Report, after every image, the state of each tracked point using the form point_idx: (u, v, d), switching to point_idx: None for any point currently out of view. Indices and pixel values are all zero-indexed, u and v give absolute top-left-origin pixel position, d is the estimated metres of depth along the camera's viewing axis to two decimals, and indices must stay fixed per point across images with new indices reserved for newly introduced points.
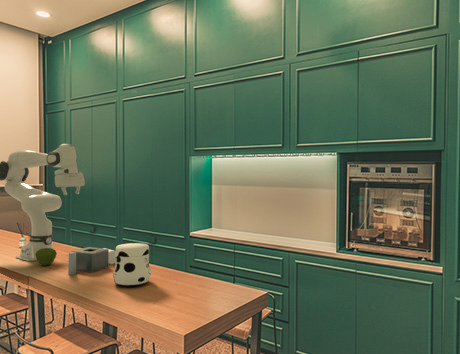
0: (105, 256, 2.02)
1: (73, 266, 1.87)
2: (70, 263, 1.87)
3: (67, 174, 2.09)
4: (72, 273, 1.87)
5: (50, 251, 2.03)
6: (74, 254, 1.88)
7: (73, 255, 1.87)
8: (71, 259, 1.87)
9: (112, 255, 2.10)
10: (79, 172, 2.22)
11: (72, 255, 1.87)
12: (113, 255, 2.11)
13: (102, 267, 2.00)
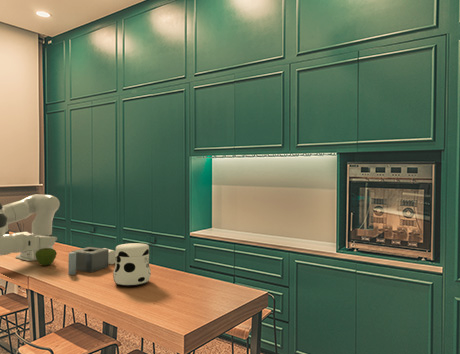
0: (105, 256, 2.02)
1: (73, 266, 1.87)
2: (70, 263, 1.87)
3: None
4: (72, 273, 1.87)
5: (50, 251, 2.03)
6: (74, 254, 1.88)
7: (73, 255, 1.87)
8: (71, 259, 1.87)
9: (112, 255, 2.10)
10: None
11: (72, 255, 1.87)
12: (113, 255, 2.11)
13: (102, 267, 2.00)
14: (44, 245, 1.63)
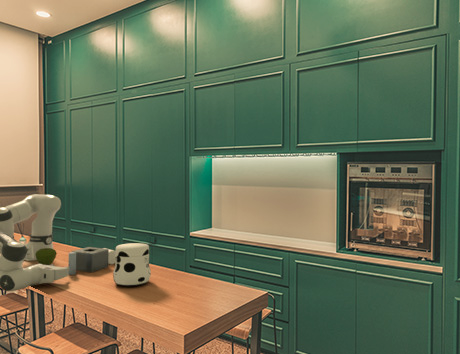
0: (105, 256, 2.02)
1: (73, 266, 1.87)
2: (70, 263, 1.87)
3: (49, 267, 1.68)
4: (72, 273, 1.87)
5: (50, 251, 2.03)
6: (74, 254, 1.88)
7: (73, 255, 1.87)
8: (71, 259, 1.87)
9: (112, 255, 2.10)
10: None
11: (72, 255, 1.87)
12: (113, 255, 2.11)
13: (102, 267, 2.00)
14: (59, 277, 1.68)
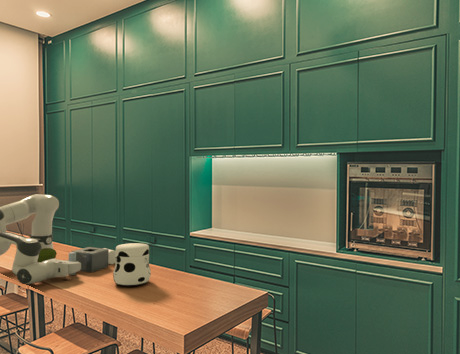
0: (105, 256, 2.02)
1: None
2: None
3: None
4: (72, 273, 1.87)
5: (50, 251, 2.03)
6: (74, 254, 1.88)
7: (73, 255, 1.87)
8: (71, 259, 1.87)
9: (112, 255, 2.10)
10: None
11: (72, 255, 1.87)
12: (113, 255, 2.11)
13: (102, 267, 2.00)
14: (72, 271, 1.76)
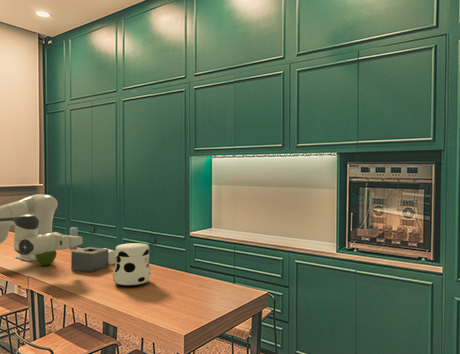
0: (105, 256, 2.02)
1: None
2: None
3: None
4: (73, 248, 1.87)
5: (50, 251, 2.03)
6: (75, 229, 1.88)
7: (74, 230, 1.88)
8: (73, 234, 1.87)
9: (112, 255, 2.10)
10: None
11: (73, 230, 1.87)
12: (113, 255, 2.11)
13: (102, 267, 2.00)
14: (74, 244, 1.77)
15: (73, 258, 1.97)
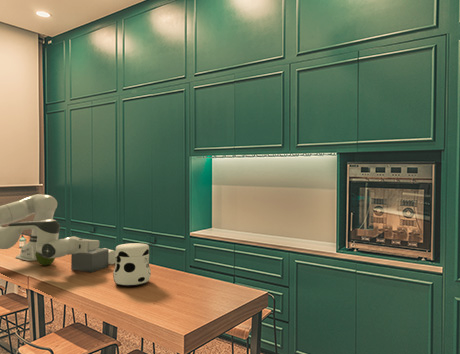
0: (105, 256, 2.02)
1: None
2: None
3: None
4: None
5: None
6: None
7: None
8: None
9: (112, 255, 2.10)
10: None
11: None
12: (113, 255, 2.11)
13: (102, 267, 2.00)
14: (92, 248, 1.88)
15: (73, 258, 1.97)
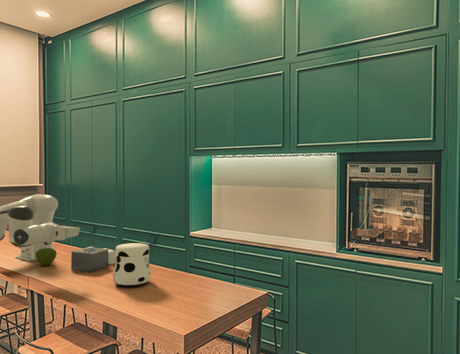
0: (105, 256, 2.02)
1: None
2: None
3: None
4: None
5: (50, 251, 2.03)
6: (92, 248, 2.00)
7: (91, 249, 1.99)
8: None
9: (112, 255, 2.10)
10: None
11: (91, 249, 1.99)
12: (113, 255, 2.11)
13: (102, 267, 2.00)
14: (70, 235, 1.74)
15: (73, 258, 1.97)
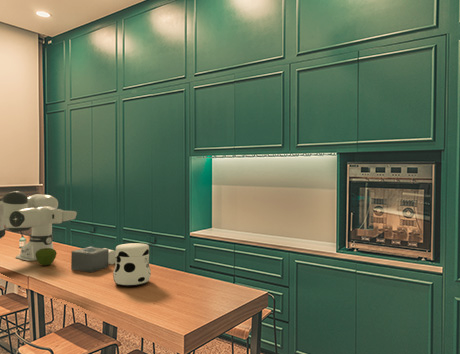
0: (105, 256, 2.02)
1: None
2: None
3: None
4: None
5: (50, 251, 2.03)
6: (92, 248, 2.00)
7: (91, 249, 1.99)
8: None
9: (112, 255, 2.10)
10: None
11: (90, 249, 1.99)
12: (113, 255, 2.11)
13: (102, 267, 2.00)
14: (67, 218, 1.73)
15: (73, 258, 1.97)
